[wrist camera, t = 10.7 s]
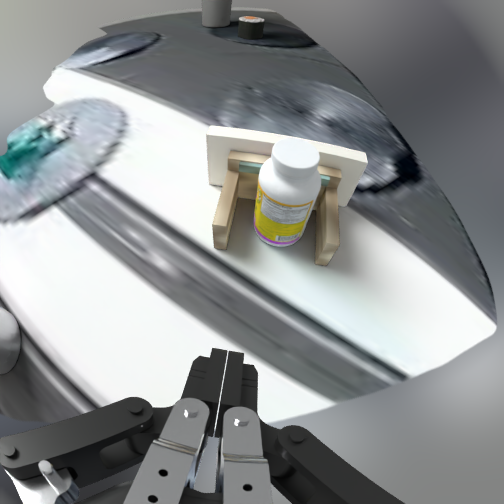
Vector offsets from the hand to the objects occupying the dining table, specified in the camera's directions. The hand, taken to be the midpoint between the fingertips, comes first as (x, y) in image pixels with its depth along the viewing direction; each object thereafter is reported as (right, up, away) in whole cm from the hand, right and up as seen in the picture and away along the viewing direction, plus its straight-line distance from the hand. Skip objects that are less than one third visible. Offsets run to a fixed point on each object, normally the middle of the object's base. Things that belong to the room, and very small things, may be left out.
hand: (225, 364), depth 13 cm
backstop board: (+5, +14, +28) cm, 32 cm away
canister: (-13, +95, +73) cm, 120 cm away
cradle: (+4, +9, +25) cm, 27 cm away
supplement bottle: (+5, +8, +25) cm, 26 cm away
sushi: (+1, +80, +65) cm, 103 cm away
